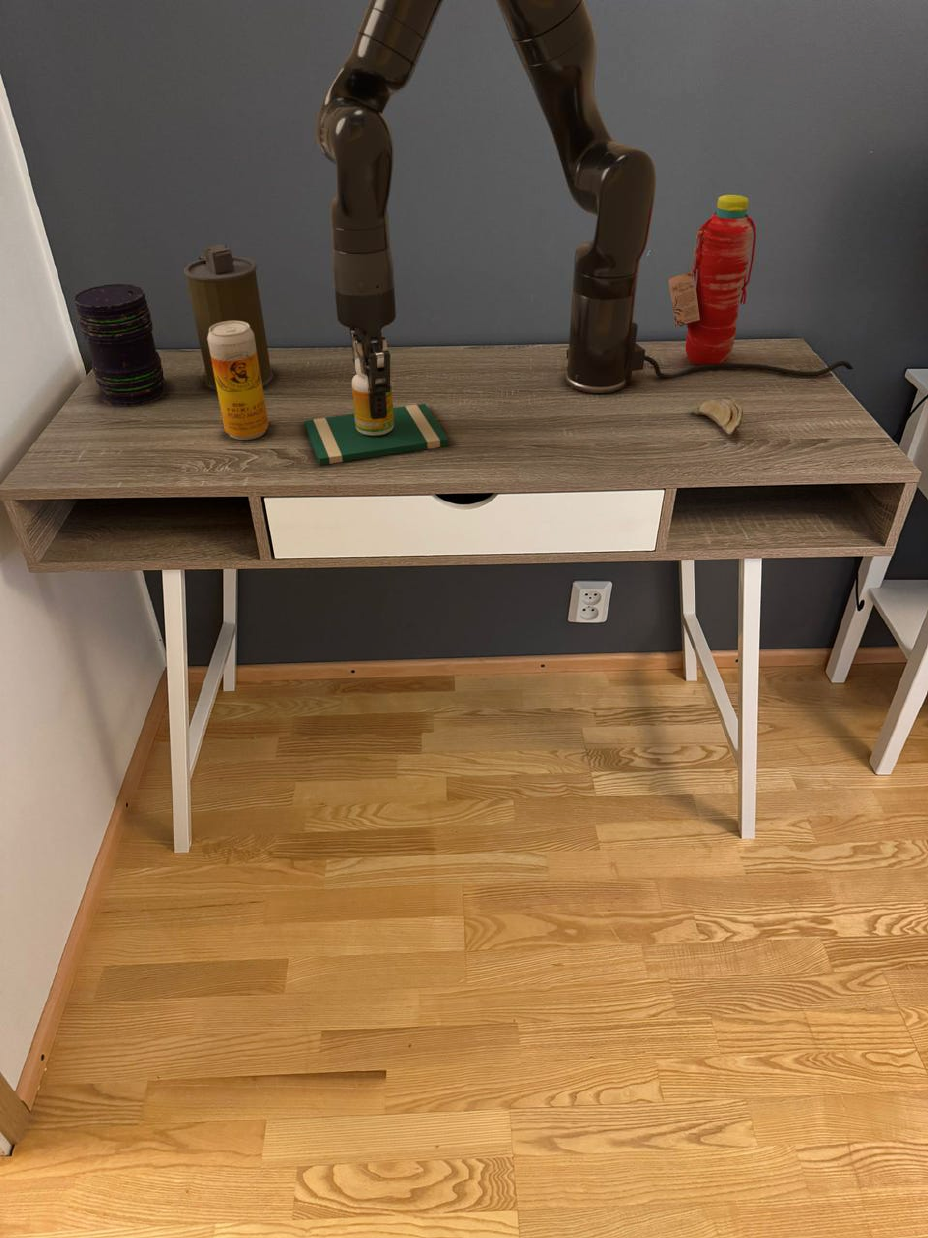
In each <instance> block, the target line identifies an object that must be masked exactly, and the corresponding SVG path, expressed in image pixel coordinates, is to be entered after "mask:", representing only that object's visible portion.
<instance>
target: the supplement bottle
mask: <svg viewBox="0 0 928 1238" xmlns="http://www.w3.org/2000/svg"><path fill="white" fill-rule="evenodd" d="M366 367H367V368H368V369H369V365H368V366H366ZM354 371H355V373H356V374H355V375H354V376H353V377H352V379H351V391H352V393H351V394H352V402H353V414H354V415H355V425H356V429H357V431H358V432H360V433H362V434H364V435H370V436H376V435H383V434H386V433H388V432H390V431H391V430H392V429H393V427H394V413H393V408H394V400H393V399H394V398H393V384H392V383H393V382H392V378H391V377H390V386H391V389H390V392H388V393H386V405H387V416H386V417H385V418H380V419H372V418H371V416H370V407H369V395H368V391H367V382H366V377H365V376H364V375H362V373H361V367H360V361H359V358H358V359H356V361H355V364H354ZM376 383H381V379H377V380H376V381H375V384H376Z"/></svg>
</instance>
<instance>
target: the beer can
mask: <svg viewBox="0 0 928 1238" xmlns="http://www.w3.org/2000/svg"><path fill="white" fill-rule="evenodd" d="M207 340H208V345H209V350H210V355H211V361H212V366H213V371H214V376H215V382H216V387H217V391H216V392H217V397H218V402H219V408H220V413H221V418H222V424H223V428H224V431H225V433H227V435H229V437H231V438H232V439H233V440H234V439H235V440H237V441H249V440H255V439H257V438H261V436H264V434H265V433H266V430H267V429H268V427H269V420H268V414H267V408H266V402H265V401H266V400H265V395H264V394H265V393H264V389H263V388H264V387H262V381H261V375H260V369H259V362H258V356H257V350H256V343H255V337H254V333H253V331H252V330H251V328H250V325H249V324H248V323H246V322H243V321H224V322H219V323H216V324H214V325H212V326H211V327H210V328H209V333H208V337H207Z"/></svg>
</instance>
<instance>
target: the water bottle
mask: <svg viewBox="0 0 928 1238" xmlns="http://www.w3.org/2000/svg"><path fill="white" fill-rule="evenodd" d="M748 207H749V198H748V197H745V196H744V195H739V194H725V195H722V196H719V197H718V199H717V207H716V212H713V213H712V215H711V217H710V218H708V219H707V220H706V221H705V222H704V223H703V224H702V225H701V226H700V228H699V229H698V230H696V232H695V235H696V237H695V241H694V248H693V254H692V261H691V270H690V271H687V272H685V273H682V274H679V275H676V276H673V277H671V278H668V286H669V292H670V293H669V294H670V301H671V309H672V315H673V322H674V328H676V327H683V326H686V328H687V332H686V339H685V345H684V347H685V354H686V357H687V360H688V361H689V362H690V363H691V364H693V365H694V366H698V365H703V364H717V363H727V361H728V359H729V358H730V355H731V354H732V351H733V349H734V343H735V339H736V332H737V323H738V313H739V305H740V304H742V305H746V301H747V300H746V299H747V288H746V287H747V286H748V285H749V283H750V281H751V274H752V270H753V264H754V258H755V249H756V240H757V232H756V231H757V230H756V225H755V222H754V220H753V219H752V218H751V217H750V216H749V214H748V213H747V211H748ZM750 256H751V260H750ZM749 262H750V264H749ZM748 267H749V270H748ZM747 272H748V273H747ZM747 275H748V276H747Z"/></svg>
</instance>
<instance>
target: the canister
mask: <svg viewBox="0 0 928 1238" xmlns="http://www.w3.org/2000/svg"><path fill="white" fill-rule="evenodd" d="M203 253H204V255H203V256H198V260H195V261H193V262H190V263H189V264H187V265H186V266H185V267H184V269H183V274H184V276H185V278H186V283H187V287H188V294H189V296H190V302H191V308H192V313H193V317H194V321H195V322H194V323H195V327H196V333H197V338H198V342H199V347H200V351H201V357H202V362H203V366H204V372H205V376H206V377H205V384H206V386H207V387H208V388H209V389H210V390H213V391H216V392H217V387H216V382H215V376H214V371H213V366H212V361H211V355H210V350H209V345H208V340H207V337H208V333H209V328H210V327H211V326H212V325H214V324H216V323H219V322H224V321H243V322H246V323H248V324H249V325H250V328H251V330H252V331H253V333H254V337H255V343H256V350H257V356H258V362H259V369H260V375H261V381H262V388H264V387H266V386H267V385H269V384H270V383H271V381H272V380H273V378H274V374H273V372H272V369H271V362H270V356H269V350H268V342H267V337H266V329H265V323H264V316H263V309H262V303H261V296H260V290H259V283H258V276H257V268H258V266H257V263H256V262H255V261H254V260H253V259H250V258H248V257H242V256H233V254H232V250H231V249H230V248H229V247H227V245H226V244H224V243H221V244H217V245H216V244H215V245H211V246H205V247H203Z"/></svg>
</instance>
